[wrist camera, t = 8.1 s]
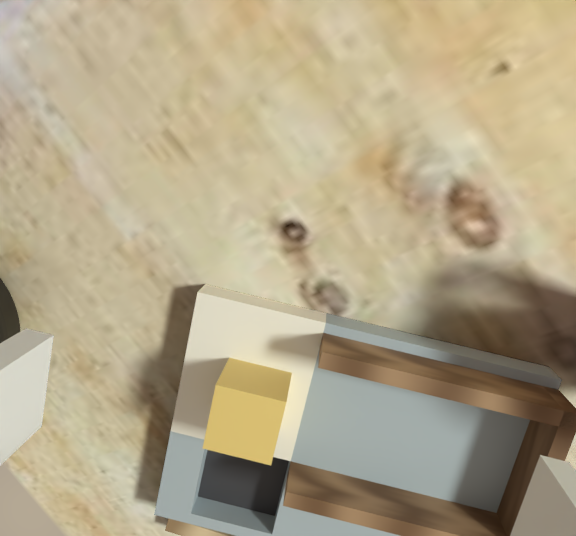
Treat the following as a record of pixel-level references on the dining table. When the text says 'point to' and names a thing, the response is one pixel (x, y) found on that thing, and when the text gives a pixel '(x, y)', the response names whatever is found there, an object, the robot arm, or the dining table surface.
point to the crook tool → (191, 529)
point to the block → (247, 411)
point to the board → (330, 422)
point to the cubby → (448, 385)
